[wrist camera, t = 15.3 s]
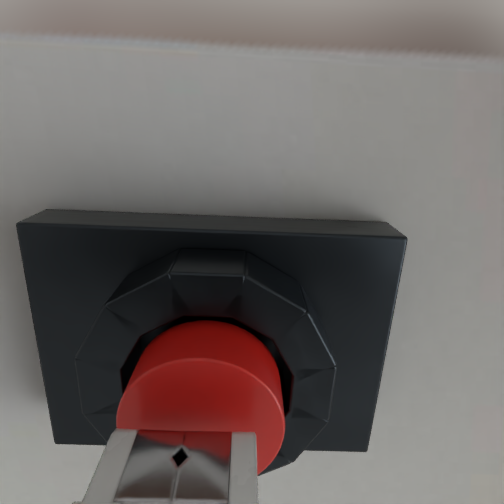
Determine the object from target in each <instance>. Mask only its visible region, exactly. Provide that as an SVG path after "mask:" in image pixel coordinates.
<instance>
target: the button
mask: <svg viewBox="0 0 504 504" xmlns="http://www.w3.org/2000/svg"><path fill="white" fill-rule="evenodd" d="M116 427H117V428H119V429H138V430H140V429H148V430H167V431H218V432H231V438H232V432H255V434H256V444H257V475H258V474H260V473H261V472H262V471H264V470H265V469H266V468H267V467H268V466H269V465H270V464H271V462H272V461H273V460H274V458H275V457H276V455H277V454H278V452H279V450H280V448H281V445H282V442H283V439H284V434H285V417H284V408H283V400H282V391H281V383H280V375H279V370H278V367H277V363H276V361H275V359H274V357H273V355H272V354H271V352H270V351H269V349H268V348H267V347H266V346H265V345H264V344H263V343H262V342H261V341H260V340H259V339H258V338H257V337H255V336H254V335H253V334H251V333H250V332H248V331H246V330H244V329H242V328H240V327H238V326H235V325H232V324H229V323H226V322H221V321H213V320H197V321H190V322H186V323H182V324H179V325H176V326H174V327H171V328H169V329H167V330H166V331H164V332H162V333H161V334H159V335H158V336H157V337H155V338H154V339H153V340H152V341H151V342H150V343H149V344H148V345H147V347H146V348H145V349H144V351H143V352H142V354H141V356H140V358H139V360H138V363H137V365H136V367H135V369H134V371H133V374H132V376H131V378H130V380H129V382H128V385H127V387H126V389H125V391H124V393H123V396H122V398H121V400H120V403H119V406H118V409H117V416H116Z"/></svg>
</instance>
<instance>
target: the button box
mask: <svg viewBox="0 0 504 504" xmlns="http://www.w3.org/2000/svg"><path fill="white" fill-rule="evenodd" d="M16 227H17V233H18V239H19V244H20V250H21V256H22V261H23V267H24V273H25V278H26V284H27V290H28V295H29V301H30V307H31V312H32V318H33V324H34V329H35V335H36V341H37V346H38V352H39V358H40V363H41V369H42V374H43V380H44V386H45V391H46V397H47V403H48V408H49V414H50V420H51V425H52V431H53V437H54V442H55V444H76V445H107V443H108V440H109V438H110V436H111V434H112V433H113V432H114V430H115V429H116V428H117V427H116V416H117V409H118V406H119V403H120V400H121V398H122V396H123V393H124V391H125V389H126V387H127V385H128V382H129V380H130V378H131V376H132V374H133V371H134V369H135V367H136V365H137V363H138V360H139V358H140V356H141V354H142V352H143V351H144V349H145V348H146V347H147V345H148V344H149V343H150V342H151V341H152V340H153V339H154V338H155V337H157V336H158V335H159V334H161V333H162V332H164V331H166V330H167V329H169V328H171V327H174V326H176V325H179V324H182V323H186V322H190V321H197V320H213V321H221V322H226V323H229V324H232V325H235V326H238V327H240V328H242V329H244V330H246V331H248V332H250V333H251V334H253V335H254V336H255V337H257V338H258V339H259V340H260V341H261V342H262V343H263V344H264V345H265V346H266V347H267V348H268V349H269V351H270V352H271V354H272V355H273V357H274V359H275V361H276V363H277V367H278V370H279V375H280V383H281V391H282V400H283V408H284V417H285V434H284V439H283V442H282V445H281V448H280V450H279V452H278V454H277V455H276V457H275V458H274V460H273V461H272V462H271V464H270V465H269V466H268V467H267V468H266V469H265V470H264V471H262V472H261V473H260V474H258V475H257V476H260V475H262V474H265V473H267V472H270V471H272V470H275V469H277V468H280V467H283V466H285V465H288V464H290V463H291V462H294V461H295V460H296V459H297V458H298V456H299V455H300V454H301V453H302V452H303V451H304V450H309V451H348V452H367V450H368V445H369V439H370V434H371V429H372V424H373V418H374V413H375V408H376V403H377V397H378V392H379V387H380V382H381V376H382V371H383V366H384V360H385V355H386V350H387V345H388V339H389V334H390V329H391V324H392V318H393V313H394V308H395V303H396V297H397V292H398V287H399V282H400V276H401V271H402V266H403V260H404V255H405V250H406V245H407V237H406V236H404V235H403V234H402V233H401V232H399V231H398V230H397V229H395V228H394V227H393V226H391V225H390V224H389V223H387V222H366V221H340V220H314V219H288V218H262V217H236V216H210V215H184V214H157V213H131V212H105V211H79V210H53V209H46V210H44V211H42V212H40V213H37V214H35V215H33V216H31V217H29V218H26V219H24V220H22V221H20V222H18V223H17V224H16Z"/></svg>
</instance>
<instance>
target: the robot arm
mask: <svg viewBox="0 0 504 504" xmlns="http://www.w3.org/2000/svg"><path fill="white" fill-rule="evenodd" d="M72 504H258V478H257V444H256V434H255V432H232V438H231V432H218V431H167V430H148V429H140V430H138V429H119V428H116V429H115V430H114V432H113V433H112V434H111V436H110V438H109V440H108V443H107V445H106V447H105V450H104V452H103V454H102V456H101V459H100V461H99V463H98V466H97V468H96V470H95V473H94V475H93V477H92V480H91V482H90V484H89V487H88V489H87V491H86V494H85V496H84V498H83V500H82V502H73V503H72Z"/></svg>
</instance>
